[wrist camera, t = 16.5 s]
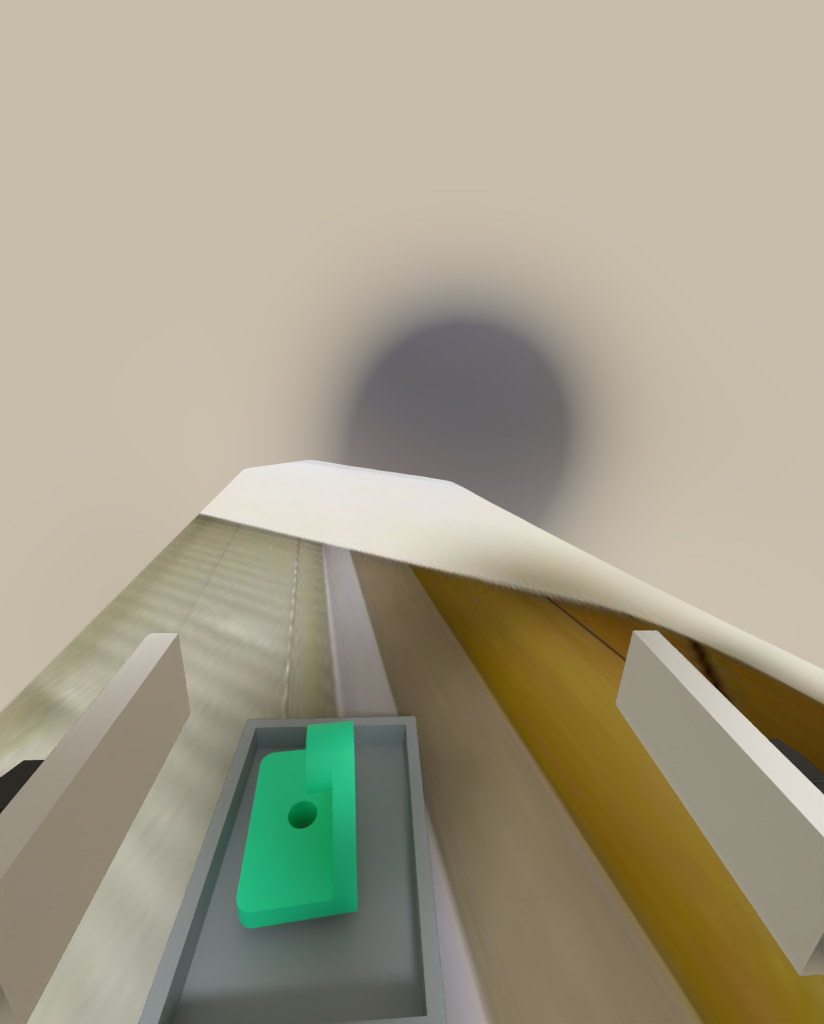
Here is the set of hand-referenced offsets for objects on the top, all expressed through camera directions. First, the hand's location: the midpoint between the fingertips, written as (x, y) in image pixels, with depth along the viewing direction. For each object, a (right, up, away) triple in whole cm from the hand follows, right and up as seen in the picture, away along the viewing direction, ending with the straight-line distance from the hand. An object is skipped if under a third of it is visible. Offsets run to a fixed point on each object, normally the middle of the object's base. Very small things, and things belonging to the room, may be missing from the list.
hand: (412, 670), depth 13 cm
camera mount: (-8, -21, +22) cm, 31 cm away
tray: (-7, -22, +21) cm, 31 cm away
